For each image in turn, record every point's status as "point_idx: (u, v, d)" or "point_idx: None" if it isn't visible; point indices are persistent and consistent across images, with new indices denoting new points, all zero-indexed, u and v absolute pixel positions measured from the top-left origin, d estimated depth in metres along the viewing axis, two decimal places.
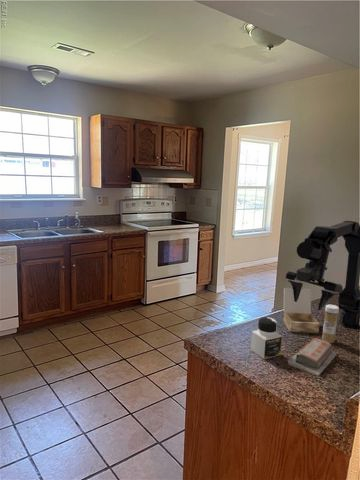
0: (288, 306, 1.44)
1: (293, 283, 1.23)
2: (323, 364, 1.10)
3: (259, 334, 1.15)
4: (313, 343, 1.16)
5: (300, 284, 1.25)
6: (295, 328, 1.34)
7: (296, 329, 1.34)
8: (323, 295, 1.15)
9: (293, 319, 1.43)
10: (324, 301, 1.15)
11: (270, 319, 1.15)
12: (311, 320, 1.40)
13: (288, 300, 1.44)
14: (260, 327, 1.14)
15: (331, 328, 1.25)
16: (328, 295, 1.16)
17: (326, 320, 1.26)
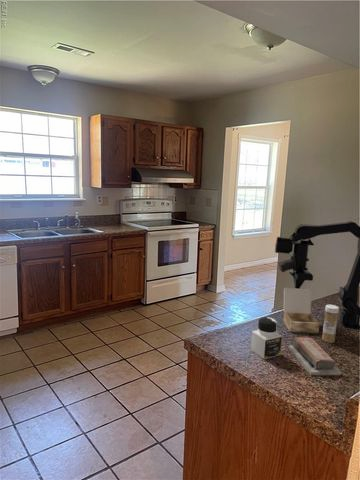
0: (288, 306, 1.44)
1: None
2: None
3: (259, 334, 1.15)
4: (305, 344, 1.16)
5: None
6: (295, 328, 1.34)
7: (296, 329, 1.34)
8: (294, 279, 1.44)
9: (293, 319, 1.43)
10: (297, 283, 1.44)
11: (270, 319, 1.15)
12: (311, 320, 1.40)
13: (288, 300, 1.44)
14: (260, 327, 1.14)
15: (331, 328, 1.25)
16: None
17: (326, 320, 1.26)
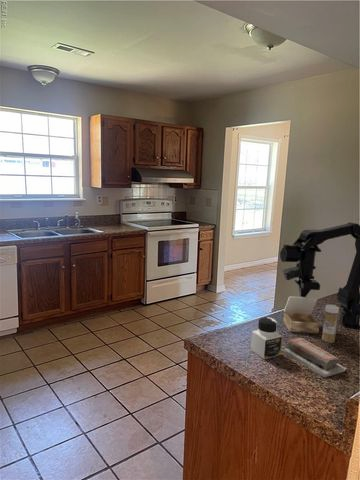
0: (289, 308, 1.42)
1: None
2: None
3: (259, 334, 1.15)
4: (303, 345, 1.15)
5: None
6: (295, 328, 1.34)
7: (296, 329, 1.34)
8: (300, 288, 1.37)
9: (293, 319, 1.43)
10: (302, 292, 1.37)
11: (270, 319, 1.15)
12: (311, 320, 1.40)
13: (291, 305, 1.40)
14: (260, 327, 1.14)
15: (331, 328, 1.25)
16: None
17: (326, 320, 1.26)
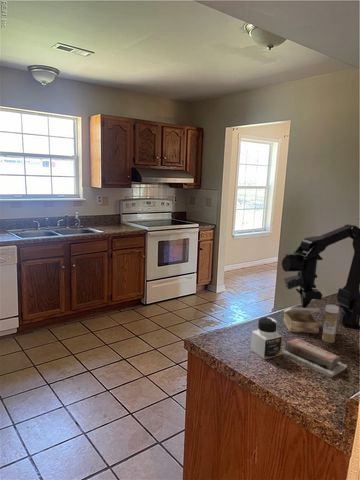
0: (290, 311, 1.41)
1: (298, 292, 1.36)
2: None
3: (259, 334, 1.15)
4: (303, 346, 1.14)
5: None
6: (295, 328, 1.34)
7: (296, 329, 1.34)
8: (302, 297, 1.34)
9: (293, 319, 1.43)
10: (304, 301, 1.34)
11: (270, 319, 1.15)
12: (311, 320, 1.40)
13: (291, 310, 1.39)
14: (260, 327, 1.14)
15: (331, 328, 1.25)
16: None
17: (326, 320, 1.26)
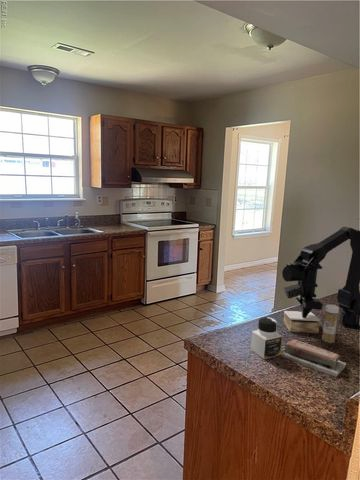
0: None
1: (298, 301, 1.35)
2: None
3: (259, 334, 1.15)
4: (303, 347, 1.14)
5: None
6: (295, 328, 1.34)
7: (296, 329, 1.34)
8: (302, 306, 1.33)
9: None
10: (304, 311, 1.34)
11: (270, 319, 1.15)
12: None
13: None
14: (260, 327, 1.14)
15: (331, 328, 1.25)
16: None
17: (326, 320, 1.26)
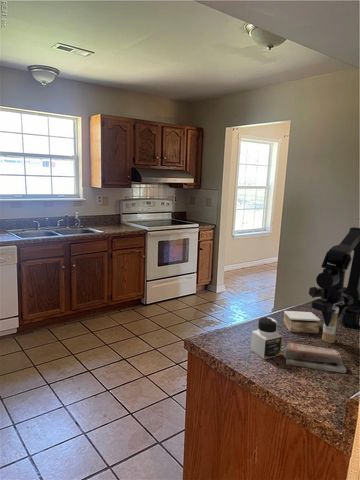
0: None
1: None
2: None
3: (259, 334, 1.15)
4: (305, 349, 1.12)
5: (339, 307, 1.27)
6: (295, 328, 1.34)
7: (296, 329, 1.34)
8: None
9: None
10: (324, 317, 1.25)
11: (270, 319, 1.15)
12: None
13: None
14: (260, 327, 1.14)
15: (331, 328, 1.25)
16: (328, 312, 1.23)
17: None
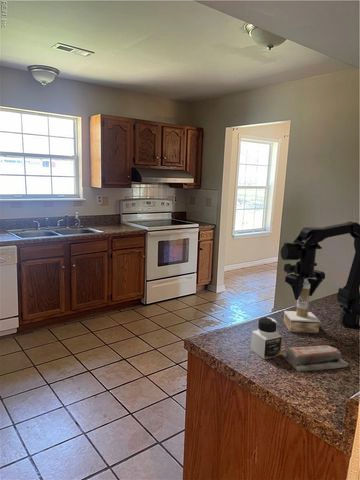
0: None
1: None
2: None
3: (259, 334, 1.15)
4: (309, 352, 1.10)
5: (315, 281, 1.38)
6: (295, 328, 1.34)
7: (296, 329, 1.34)
8: None
9: None
10: (294, 291, 1.34)
11: (270, 319, 1.15)
12: None
13: None
14: (260, 327, 1.14)
15: (304, 303, 1.36)
16: (297, 287, 1.32)
17: (299, 296, 1.37)
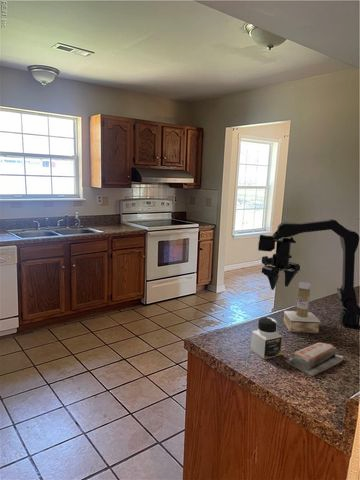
0: None
1: None
2: None
3: (259, 334, 1.15)
4: (314, 353, 1.09)
5: (290, 272, 1.48)
6: (295, 328, 1.34)
7: (296, 329, 1.34)
8: None
9: None
10: (270, 282, 1.44)
11: (270, 319, 1.15)
12: None
13: None
14: (260, 327, 1.14)
15: (304, 303, 1.36)
16: (273, 278, 1.42)
17: (299, 296, 1.37)
